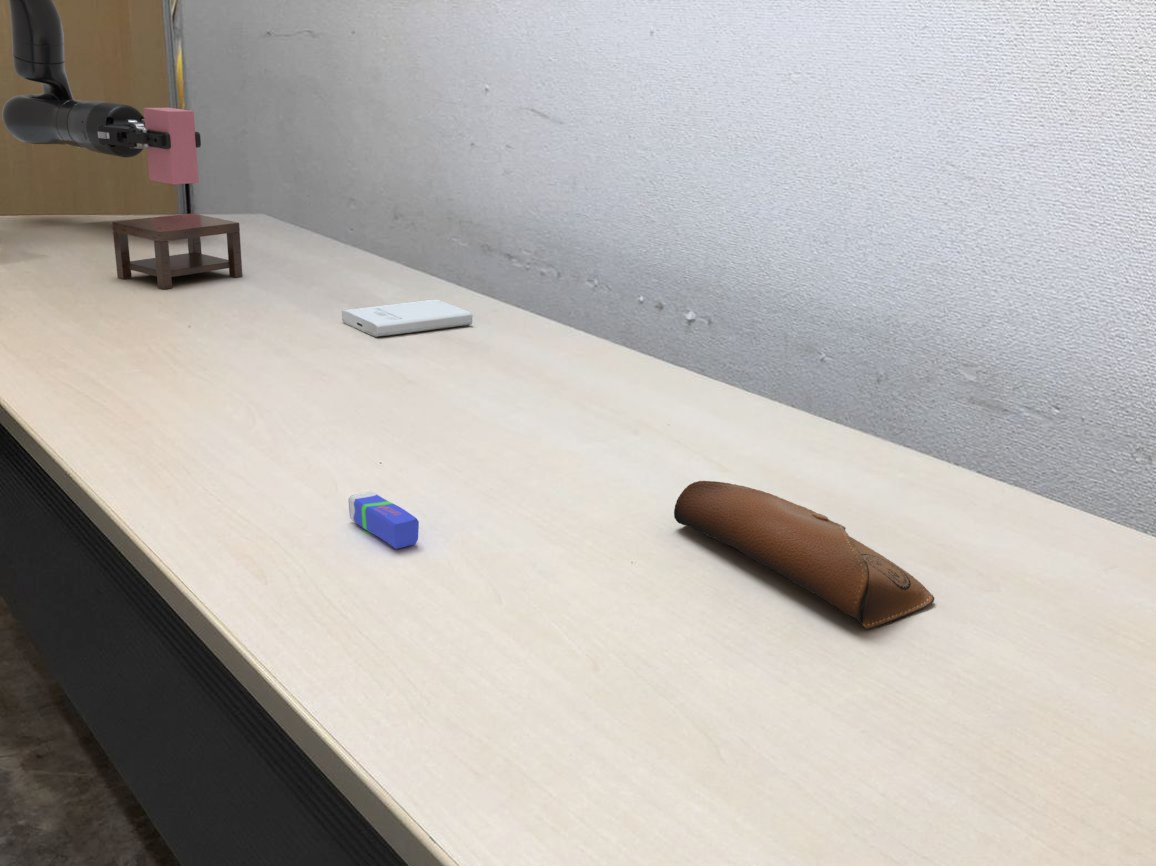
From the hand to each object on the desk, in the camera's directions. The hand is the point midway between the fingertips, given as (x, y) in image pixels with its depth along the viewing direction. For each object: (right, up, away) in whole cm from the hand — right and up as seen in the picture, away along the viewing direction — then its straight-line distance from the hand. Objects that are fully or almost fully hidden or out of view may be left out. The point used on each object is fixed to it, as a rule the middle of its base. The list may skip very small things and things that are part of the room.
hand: (183, 140), depth 160 cm
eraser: (+47, -52, -83) cm, 109 cm away
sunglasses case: (+76, -54, -83) cm, 125 cm away
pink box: (-3, -5, +3) cm, 7 cm away
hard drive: (+38, -30, -30) cm, 57 cm away
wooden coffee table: (+6, -22, -15) cm, 28 cm away
